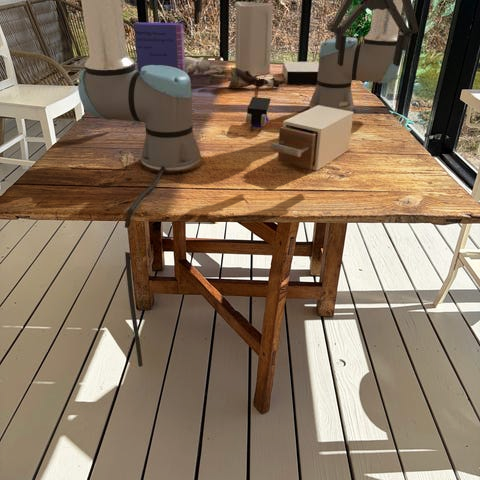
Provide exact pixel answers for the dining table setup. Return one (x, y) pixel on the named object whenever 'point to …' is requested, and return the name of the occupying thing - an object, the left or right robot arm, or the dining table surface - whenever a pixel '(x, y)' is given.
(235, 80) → the figurine
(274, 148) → the drawer
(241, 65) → the tall white carton
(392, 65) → the right robot arm
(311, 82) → the disc drive
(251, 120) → the figurine character
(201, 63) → the toy
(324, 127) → the cabinet
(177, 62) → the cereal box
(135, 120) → the left robot arm
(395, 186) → the dining table surface
